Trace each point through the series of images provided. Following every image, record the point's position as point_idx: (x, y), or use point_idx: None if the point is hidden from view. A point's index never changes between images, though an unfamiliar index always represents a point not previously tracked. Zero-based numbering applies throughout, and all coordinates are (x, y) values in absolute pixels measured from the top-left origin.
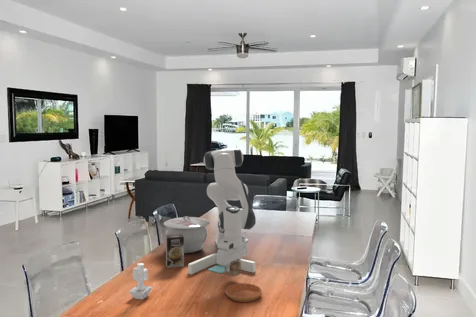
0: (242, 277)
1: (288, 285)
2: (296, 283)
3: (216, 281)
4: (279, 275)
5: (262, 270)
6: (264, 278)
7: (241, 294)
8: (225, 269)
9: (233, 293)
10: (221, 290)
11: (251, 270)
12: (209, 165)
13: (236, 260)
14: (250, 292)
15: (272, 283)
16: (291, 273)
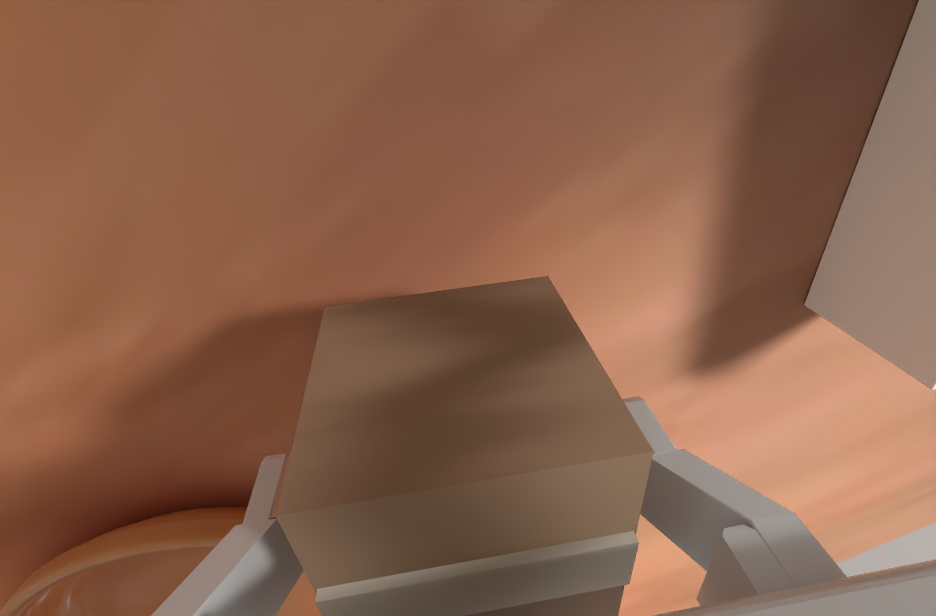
0: (601, 319)
1: (633, 606)
2: (691, 607)
3: (205, 154)
4: (803, 487)
5: None
6: None
7: None
8: (311, 383)
9: (148, 563)
10: (86, 427)
11: (832, 294)
12: None
13: (701, 494)
14: (309, 605)
15: None
16: (874, 507)
